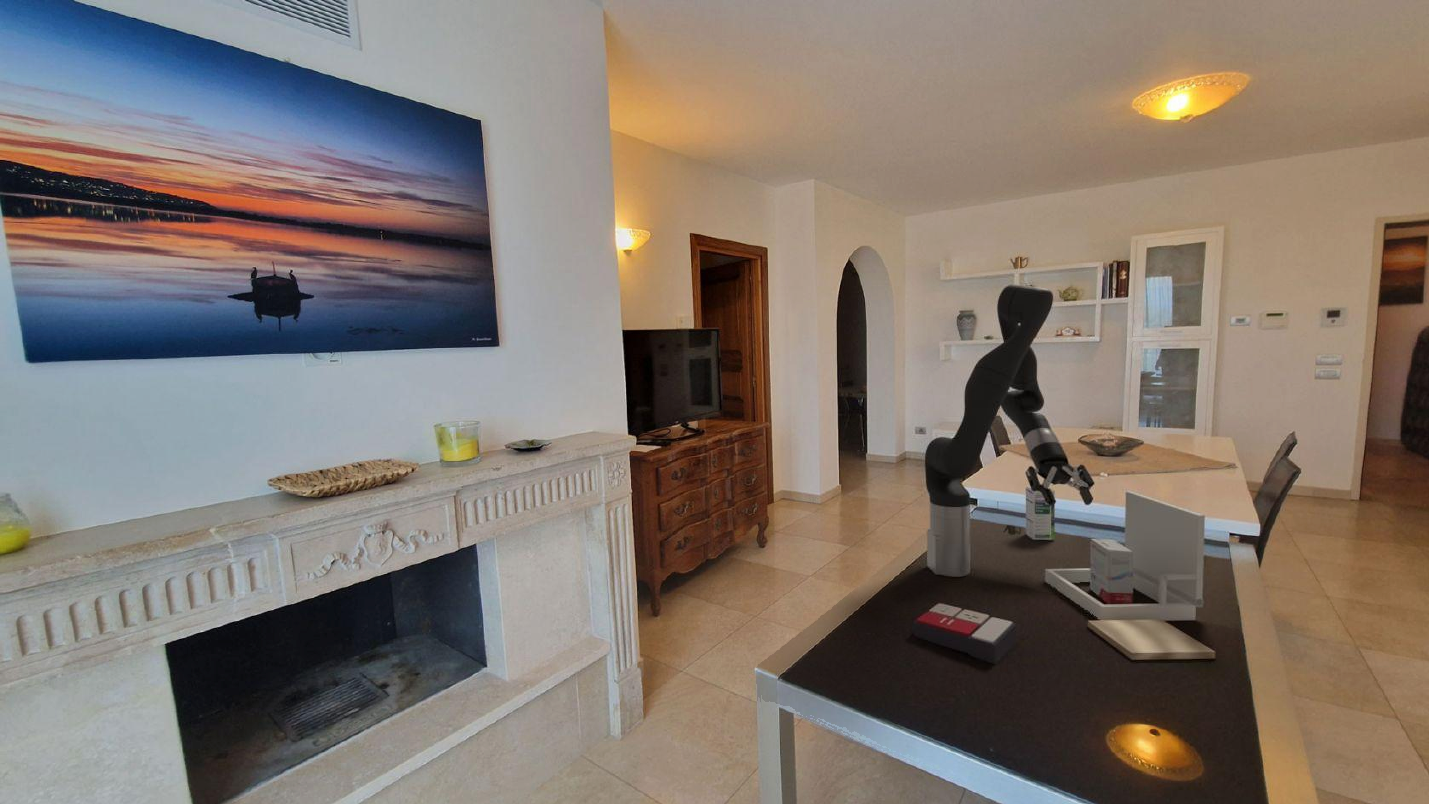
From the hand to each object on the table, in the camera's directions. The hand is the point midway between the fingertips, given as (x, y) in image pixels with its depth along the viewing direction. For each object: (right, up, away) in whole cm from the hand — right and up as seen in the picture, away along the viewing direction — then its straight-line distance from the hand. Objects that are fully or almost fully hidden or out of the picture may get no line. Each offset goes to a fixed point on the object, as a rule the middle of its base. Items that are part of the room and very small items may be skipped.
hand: (1071, 503), depth 134 cm
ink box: (0, -18, -13) cm, 22 cm away
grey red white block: (-39, -21, -29) cm, 53 cm away
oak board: (-7, -19, -32) cm, 38 cm away
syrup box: (+8, -15, +27) cm, 32 cm away
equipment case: (0, -18, -14) cm, 23 cm away
